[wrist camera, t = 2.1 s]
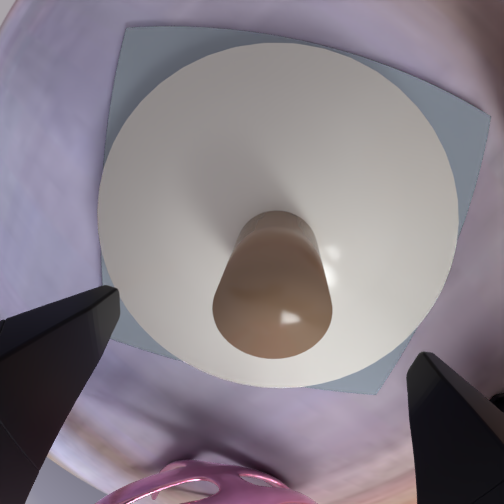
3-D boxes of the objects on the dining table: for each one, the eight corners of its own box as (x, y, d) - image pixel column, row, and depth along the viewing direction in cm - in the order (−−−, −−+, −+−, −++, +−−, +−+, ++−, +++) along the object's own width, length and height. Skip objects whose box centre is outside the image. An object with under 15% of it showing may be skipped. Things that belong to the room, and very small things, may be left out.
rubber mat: (374, 389, 19) (375, 395, 18) (110, 333, 19) (107, 337, 19) (485, 116, 11) (491, 116, 11) (130, 30, 11) (126, 27, 11)
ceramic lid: (372, 389, 18) (388, 464, 12) (113, 334, 18) (68, 398, 13) (482, 121, 11) (566, 132, 5) (132, 35, 11) (54, 2, 5)
